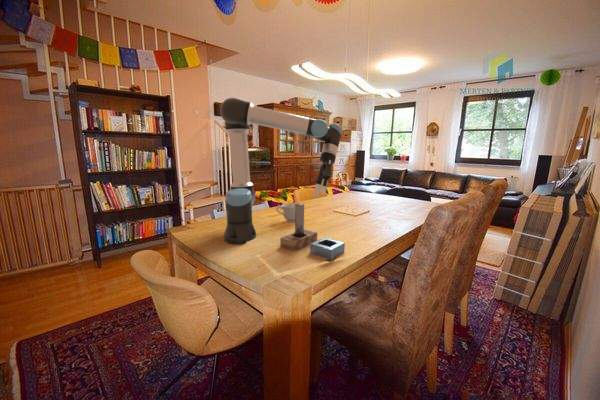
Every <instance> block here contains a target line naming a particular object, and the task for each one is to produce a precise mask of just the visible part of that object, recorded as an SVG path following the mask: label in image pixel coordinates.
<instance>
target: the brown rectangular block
mask: <svg viewBox="0 0 600 400" xmlns="http://www.w3.org/2000/svg"><path fill="white" fill-rule="evenodd" d="M279 240H280V243H279V244H280V248H283V249H286V250H289V251H292V252H296V251H298V250H301V249H303V248H305V247H307V246H310V244H311V243H313V242H315V241H317V240H318V232H316V231H313V230H310V229H305V228H304V237H302V238H298V237H295V232H292V233H290V234H287V235H284V236H282V237H280V239H279Z"/></svg>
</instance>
